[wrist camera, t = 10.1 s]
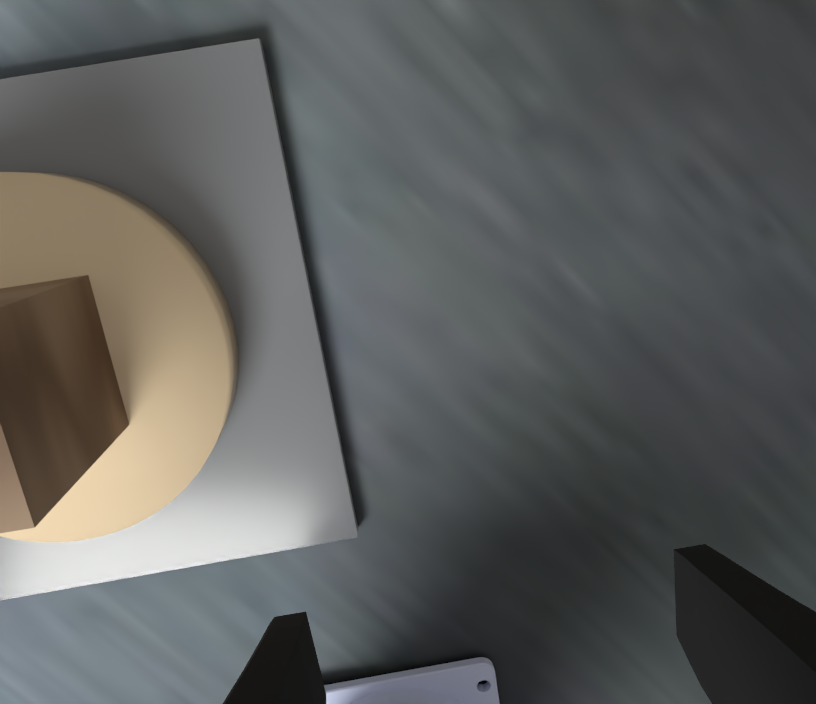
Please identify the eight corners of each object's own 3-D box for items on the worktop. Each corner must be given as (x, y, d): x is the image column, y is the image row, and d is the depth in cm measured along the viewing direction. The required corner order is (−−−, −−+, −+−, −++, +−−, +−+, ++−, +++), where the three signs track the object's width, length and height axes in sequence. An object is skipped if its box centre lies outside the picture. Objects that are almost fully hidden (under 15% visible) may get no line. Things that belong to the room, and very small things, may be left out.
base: (358, 528, 24) (357, 565, 22) (-97, 608, 23) (-145, 653, 21) (261, 42, 20) (249, 25, 17) (-294, 130, 19) (-380, 124, 17)
